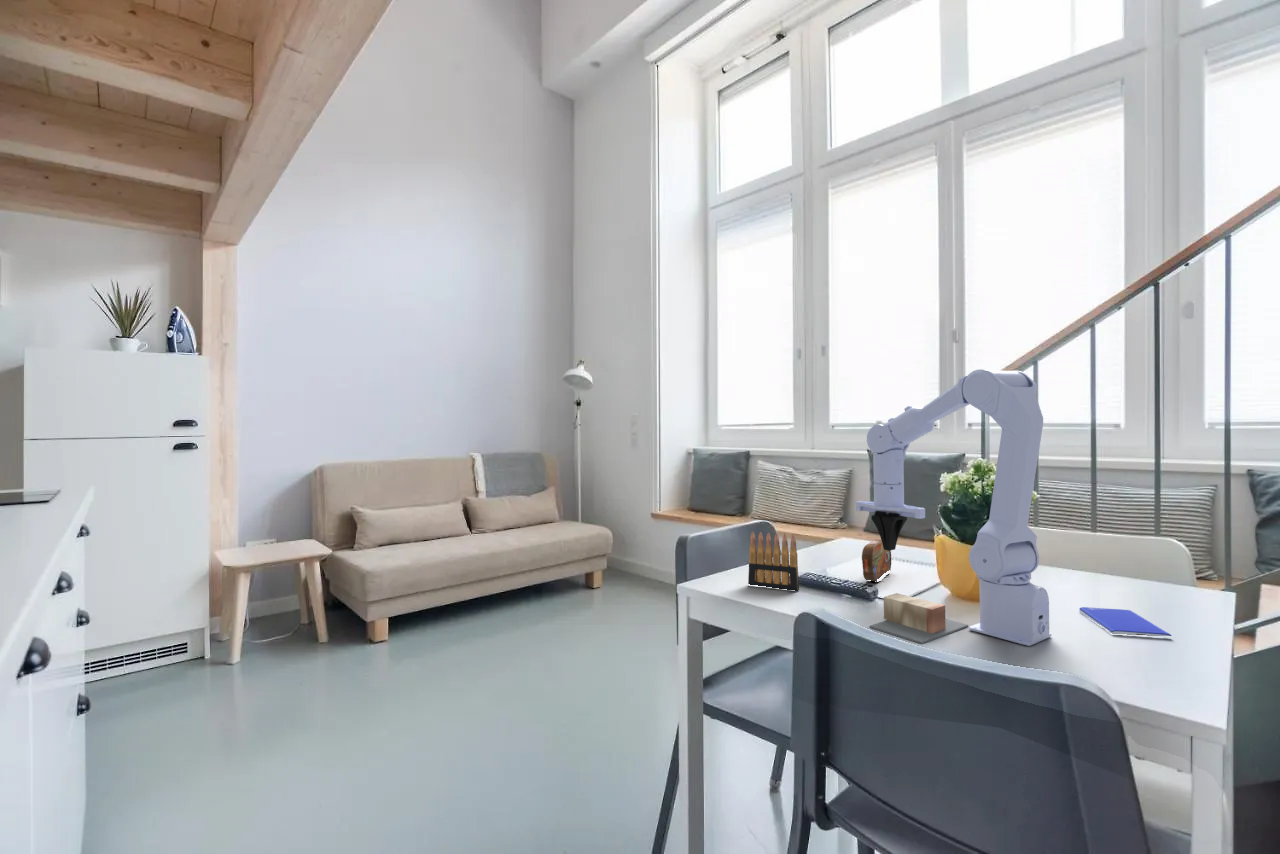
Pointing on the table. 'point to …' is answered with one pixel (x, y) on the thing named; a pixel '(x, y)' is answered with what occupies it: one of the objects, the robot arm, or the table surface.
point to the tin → (875, 560)
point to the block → (914, 613)
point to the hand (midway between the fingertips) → (889, 549)
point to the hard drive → (1122, 622)
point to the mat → (916, 630)
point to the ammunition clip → (773, 563)
